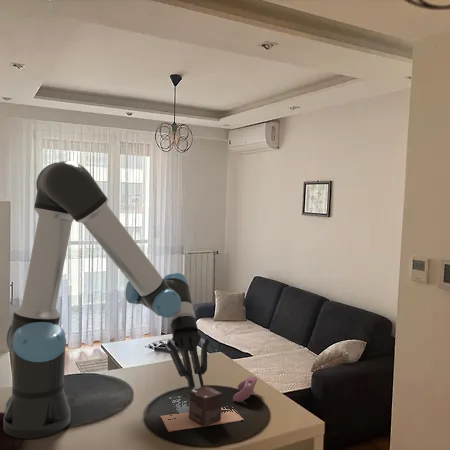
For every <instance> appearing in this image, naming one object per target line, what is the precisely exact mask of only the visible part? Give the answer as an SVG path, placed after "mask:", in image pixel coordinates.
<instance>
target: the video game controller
mask: <svg viewBox="0 0 450 450" xmlns="http://www.w3.org/2000/svg"><path fill="white" fill-rule="evenodd" d="M257 382H258V378H257V376H252V375H250V376H249V375H248V376H247V378H246V379H244V380H242V381H241V382H239V383H238V385H237V389H238V390H239V391H238V392H236V393H234V395H233V397H232V401H233V402H234V401H237V402H236V403H242V402H243V401H245V400H246V399H247V400H248V399H249V398H250V396H253V395H255V385H257V384H256V383H257Z"/></svg>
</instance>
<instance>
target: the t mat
mask: <svg viewBox="0 0 450 450" xmlns="http://www.w3.org/2000/svg"><path fill="white" fill-rule="evenodd" d="M181 396H182V395H179V396H177V397H178V398H180V397H181ZM172 397H174V398H175V397H176V396H171V397H168V400H169V399H171V398H172ZM176 400H177V399H176ZM176 400H173V401H172V403H175V402H178V404H176V407H177V408H178V409H177V408H176V409H175V411H176V412H177V411H178V412H177V413H173V414H164V415H160V416H159V417H160V419H161V418H162V419H161V420H163V421H162V423H163V422H164V423H163V424H164V427H165V428H166V429H167V431H168V433H170V432H174V431H175V432H176V431H181V430H188V429H195V428H203V426H201V425H200V424H198V423H196V422H194V421H193V420H191V419H189V407H188V406H186V405H187V404H184V405H183V403H186V402H187V401H184V402H183V401H182V402H183V403H182V407H180V406H181V405H179V404H180V403H181V402H179V401H180V400H181V399H178V400H177V401H176ZM172 403H171V404H172ZM173 405H174V404H172V406H173ZM177 405H178V406H177ZM173 407H174V408H175V406H173ZM225 407H226V406H224V408H225ZM232 408H234V407H233V406H232ZM221 410H230V409H226V408H225V409H223V407H221ZM234 410H235V409H234ZM234 410H233V409H232V411H233V412H232V411H231V410H230V411H231V412H230V411H228V412H227V411H226V412H225V413H224V412H222V413H223V414H222V413H221V420H220V421H218V422H215V423H212V424H210V425H208V426H207V427H209V426H215V425H222V424H229V423H235V422H241V420H243V421H244V418H243V417H242V416H241V415H240V414H239V413H238V412H237V411H236V410H235V411H236V412H237V413H238V414H237V413H236V412H235V411H234ZM178 413H179V414H178ZM170 415H172V416H170ZM174 418H176V419H174ZM168 419H171V420H168ZM172 419H173V420H172Z"/></svg>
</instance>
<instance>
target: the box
mask: <svg viewBox="0 0 450 450" xmlns="http://www.w3.org/2000/svg"><path fill="white" fill-rule="evenodd" d="M189 395H190V403H189V419H191V420H193V421H194V422H196V423H198V424H200V425H201V426H203V427H204V428H205V427H209V426H208V425H210V424H212V423H215V422H218V421H220V420H221V408H222V399H223V398H222V397H223V396H222V395H223V393H222V391H219V390H217V389H215V388H213V387H211V386H208V385H205V386H204V385H203V387H201V388H198V389H195V390H192V389H191V390H189ZM210 426H211V425H210ZM203 427H202V428H203Z"/></svg>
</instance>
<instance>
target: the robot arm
mask: <svg viewBox="0 0 450 450" xmlns="http://www.w3.org/2000/svg"><path fill="white" fill-rule="evenodd" d="M36 190H37V191H36V195H35V196H36V197H35V202H34V207H33V210H35V212H36V213H37V214H38V215H37V216H38V217H37V224H36V229H35V234H34V239H33V246H32V249H31V254H30V258H29V259H30V260H29V265H28V270H27V276H26V279H25V287H24V290H23V296H22V301H21V304H20V305H19V306H18V307H16V308H15V309H14V311H13V316H12V321H11V324H10V326H9V328H8V330H7V333H6V345H7V349H8V350H9V353H10V356H11V362H12V384H11V385H12V387H11V389H12V390H11V396H10V400H9V402H8V405H7V408H6V411H5V413H4V416H3V420H2V421H3V423H2V425H3V427H2V428H3V432H4V433H5V434H6V435H7V436H10V437H12V438H16V439H23V440H25V439H28V440H29V439H40V438H45V437H48V436H49V437H50V436H52V435H54V434H57V433H59V432H61V431H63V430H64V429H66V428H67V427H68V426H69V425H70V423H71V408H70V404H69V401H68V399H67V396H66V393H65V390H64V389H65V365H66V364H65V361H66V346H67V339H66V332H65V330H64V328H63V327H61V326H60V325H59V324H60V318H61V313H60V312H59V310H57V303H58V297H59V292H60V288H61V282H62V278H63V277H62V276H63V271H64V266H65V262H66V261H65V260H66V257H67V251H68V246H69V239H70V235H71V230H72V224H73V222H74V221H75V222H76V223H81V224H83V226H84V227H85V229H86V230H87V231H88V232H89V233H90V234H91V236H92V237H93V238H94V240H95V241H96V243H98V244H99V246H100V247H101V248H102V249H103V251H104V252H105V253H106V254H107V256H108V257H109V259H110V260H111V261H112V262H113V263H114V264H115V266H116V267H117V268H118V269H119V271H120V272H121V273H122V274H123V276H124V277H125V278H126V279H127V280H128V281H127V283H126V286H125V299H126V301H127V303H129V304H133V305H143V306H144V307H146V308H147V309H149V310H150V311H152V312H153V313H154V314H155V315H157V316H159V317H162V318H168V319H169V323H170V329H171V333H172V334H171V335H172V337H171V340H170V341H168V342H167V343H166V345H165V346H164V347H165V350H166V351H167V353H169V354H170V357H171V359H172V361H173V364H174V366H175V368H176V371H177V373H178V375H179V377H181V378H182V377H184V379H185V380H187V386H188V389H189V390H191V391H192V390H195V389H198V388H201V387H204V380H203V375H205V373H206V372H207V370H208V346H209V344H210V339H209V338H206V339H205V338H203V337H202V336H201V334H200V333H199V329H198V324H197V319H196V315H195V311H194V306H193V301H192V298H191V293H190V287H189V284H188V281H187V277H186V276H185V275H184V274H183V273H180V272H173V273H168V274H166V275H164V277H162V276H161V274H160V273H159V271H158V269H156V267H155V266H154V265H153V263H152V262H151V261H150V260H149V258H148V257H147V256H146V254H145V253H144V251H143V250H142V249H141V248H140V246H139V245H138V244H137V242H136V241H135V240H134V239H133V237H132V236H131V234H130V233H129V232H128V230H127V229H126V227H125V226H124V225H123V224H122V223H121V221H120V219H118V217H117V216H116V214H115V213H114V212H113V210H112V209H111V208H110V206H109V205H108V203H109V202H108V201H109V199H108V197H107V196H106V195H105V193H104V192H103V190H102V189H101V188H100V185H98V183H97V181H96V180H95V178H94V177H93V176H92V174H91V173H90V172H89V170H88V169H86V167H84V166H83V165H81V164H80V163H77V162H75V161H72V160H71V161H69V160H64V161H59V162H53V163H50V164H48V165H47V166H45V167H44V168H43V169H42V170H41V171H40V172H39V174H38V176H37V178H36ZM199 344H200V345H199ZM198 346H200V347H201V349H200V357H199V354H198ZM177 349H179V350H180V355H181V357H180V355H179V352H178V350H177ZM199 358H200V359H199ZM191 363H192V364H191ZM193 372H194V373H193Z"/></svg>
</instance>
